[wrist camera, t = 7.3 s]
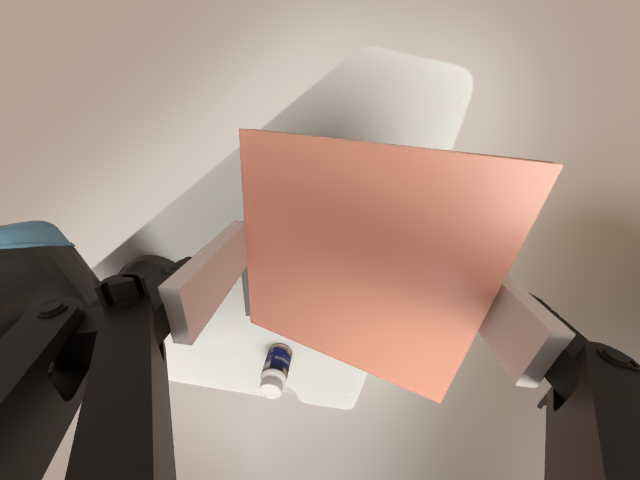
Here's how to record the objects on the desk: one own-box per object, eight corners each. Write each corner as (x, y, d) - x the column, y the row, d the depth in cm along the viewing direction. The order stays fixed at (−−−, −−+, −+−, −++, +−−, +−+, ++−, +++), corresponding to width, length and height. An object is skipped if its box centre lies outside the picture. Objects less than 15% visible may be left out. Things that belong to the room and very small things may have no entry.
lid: (268, 303, 19) (250, 322, 17) (265, 129, 13) (239, 128, 11) (438, 369, 15) (440, 403, 13) (536, 159, 9) (563, 164, 7)
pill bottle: (297, 351, 57) (289, 392, 48) (283, 362, 59) (273, 404, 50) (278, 339, 56) (266, 379, 47) (264, 351, 58) (251, 391, 49)
